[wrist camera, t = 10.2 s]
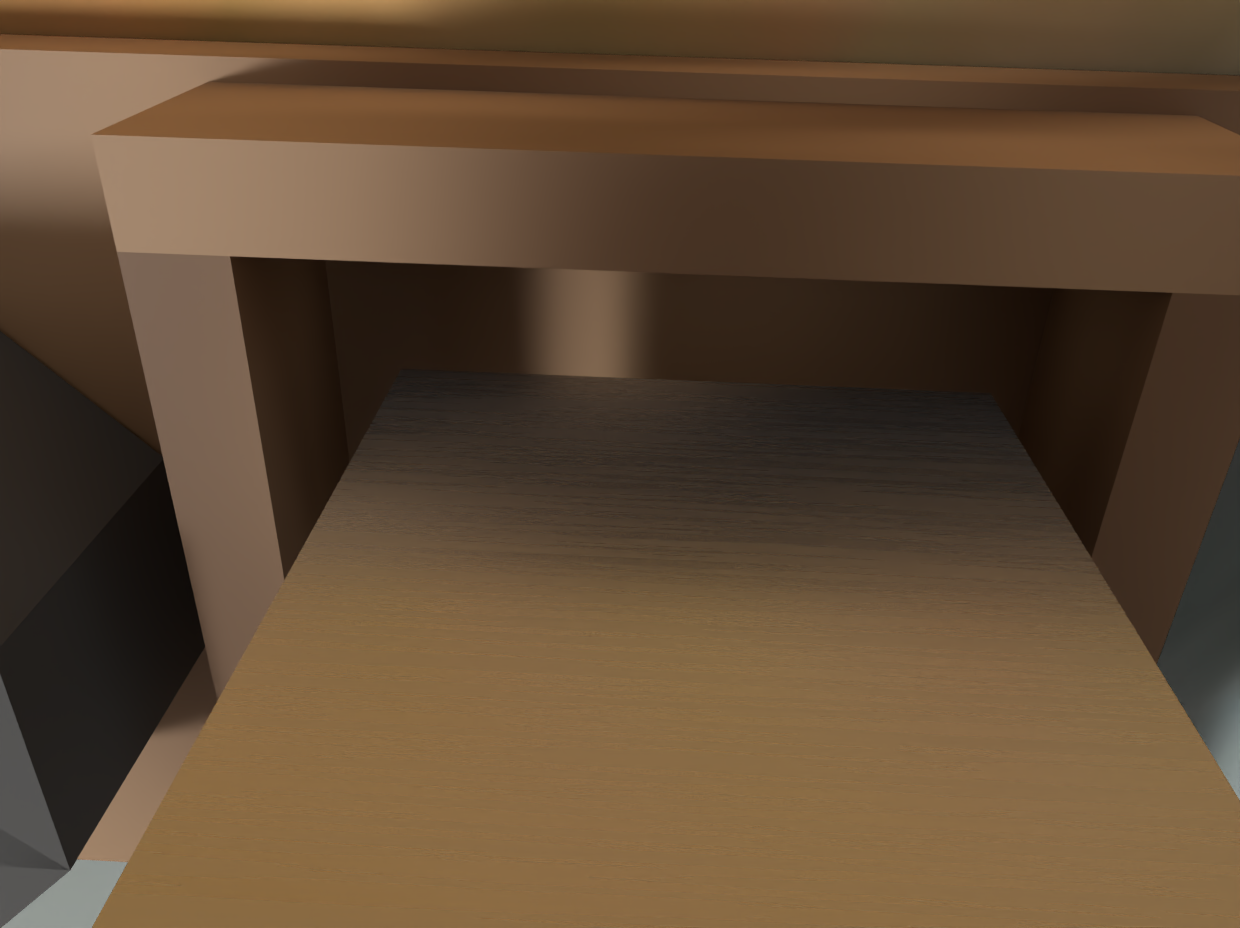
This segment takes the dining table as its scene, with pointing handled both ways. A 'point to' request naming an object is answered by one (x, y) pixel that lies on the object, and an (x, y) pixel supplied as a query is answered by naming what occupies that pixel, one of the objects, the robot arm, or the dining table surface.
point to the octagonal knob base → (78, 618)
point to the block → (690, 684)
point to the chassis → (611, 270)
